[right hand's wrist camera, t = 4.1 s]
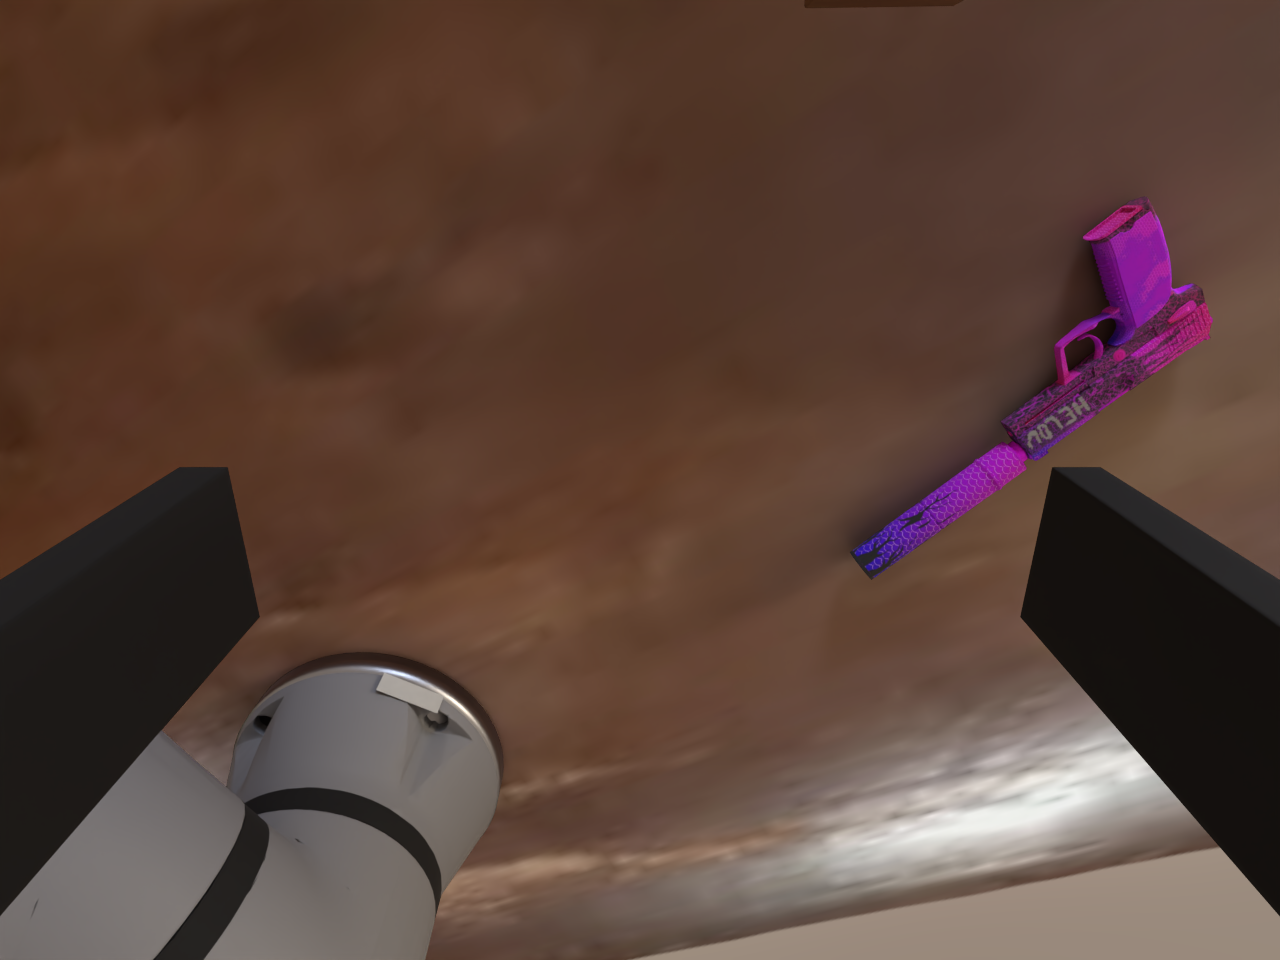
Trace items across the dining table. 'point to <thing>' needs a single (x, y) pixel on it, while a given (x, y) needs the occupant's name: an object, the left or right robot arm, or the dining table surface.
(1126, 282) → the handgun
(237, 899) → the right robot arm
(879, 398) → the dining table surface
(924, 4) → the bar
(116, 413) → the dining table surface
